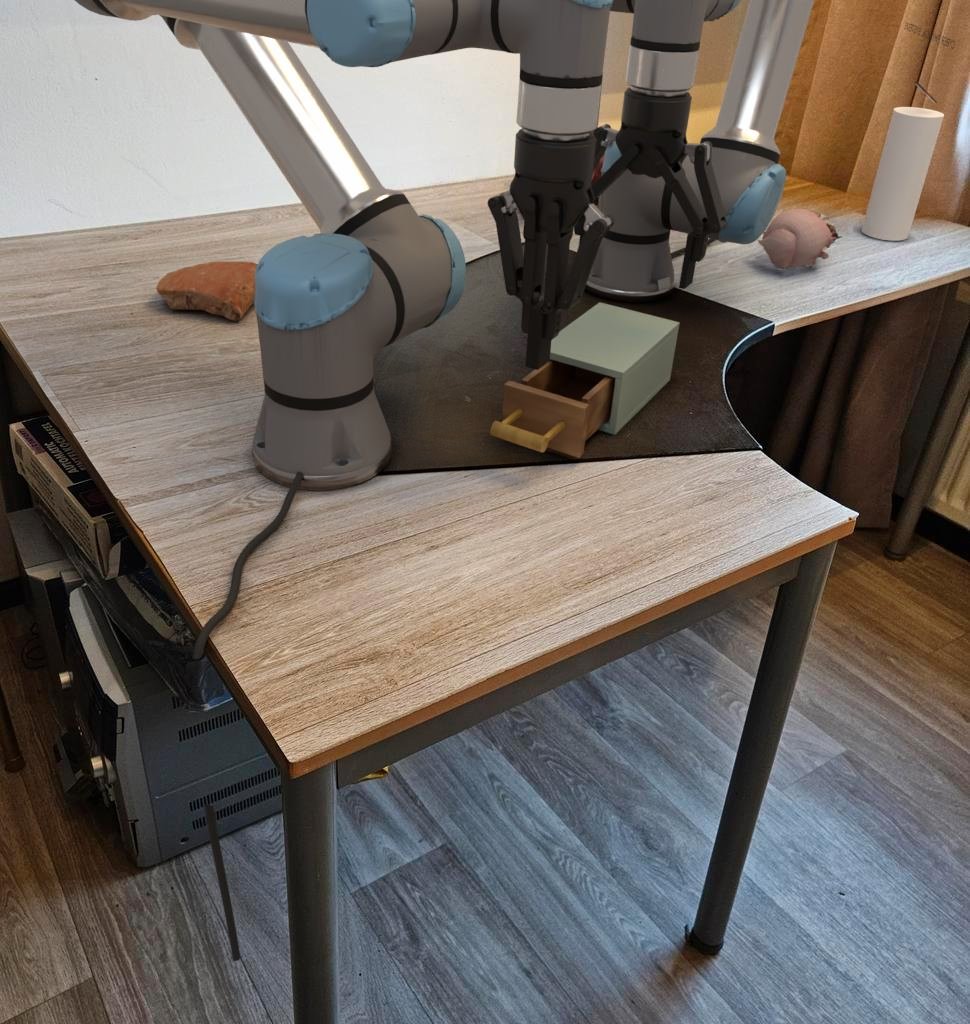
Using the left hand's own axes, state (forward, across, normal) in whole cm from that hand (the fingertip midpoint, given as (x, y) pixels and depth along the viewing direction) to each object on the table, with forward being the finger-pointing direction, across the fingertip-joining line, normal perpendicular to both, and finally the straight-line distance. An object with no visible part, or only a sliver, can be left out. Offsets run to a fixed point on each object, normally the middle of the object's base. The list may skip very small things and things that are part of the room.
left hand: (537, 363), depth 102 cm
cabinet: (+12, 0, -20) cm, 24 cm away
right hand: (-2, 0, -25) cm, 25 cm away
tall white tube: (+12, -16, -114) cm, 115 cm away
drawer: (+11, 0, -8) cm, 14 cm away
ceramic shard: (+12, +61, -14) cm, 64 cm away
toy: (+12, -6, -84) cm, 85 cm away
